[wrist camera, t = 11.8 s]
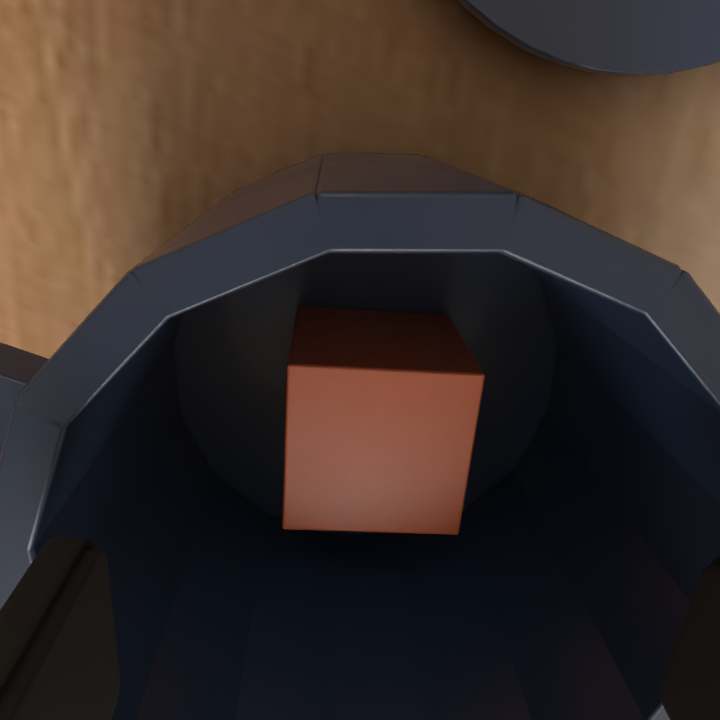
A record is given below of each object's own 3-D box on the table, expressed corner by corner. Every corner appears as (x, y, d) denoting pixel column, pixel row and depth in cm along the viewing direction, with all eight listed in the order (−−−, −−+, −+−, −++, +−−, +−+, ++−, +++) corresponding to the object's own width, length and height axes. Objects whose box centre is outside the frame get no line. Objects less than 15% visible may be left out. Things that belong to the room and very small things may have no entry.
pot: (521, 604, 23) (642, 911, 14) (21, 448, 19) (-238, 726, 10) (727, 294, 18) (1091, 456, 10) (131, 21, 15) (-157, -122, 6)
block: (292, 440, 19) (281, 530, 15) (297, 305, 17) (286, 363, 13) (431, 446, 19) (459, 536, 15) (449, 313, 18) (486, 374, 13)
